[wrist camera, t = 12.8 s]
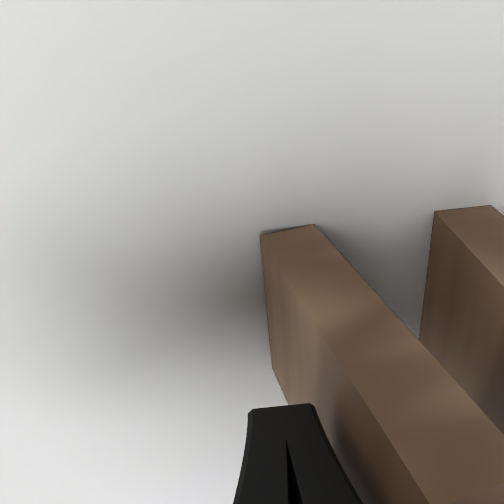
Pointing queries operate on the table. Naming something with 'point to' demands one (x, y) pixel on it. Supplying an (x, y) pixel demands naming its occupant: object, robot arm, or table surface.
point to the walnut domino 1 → (373, 382)
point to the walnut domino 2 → (468, 303)
